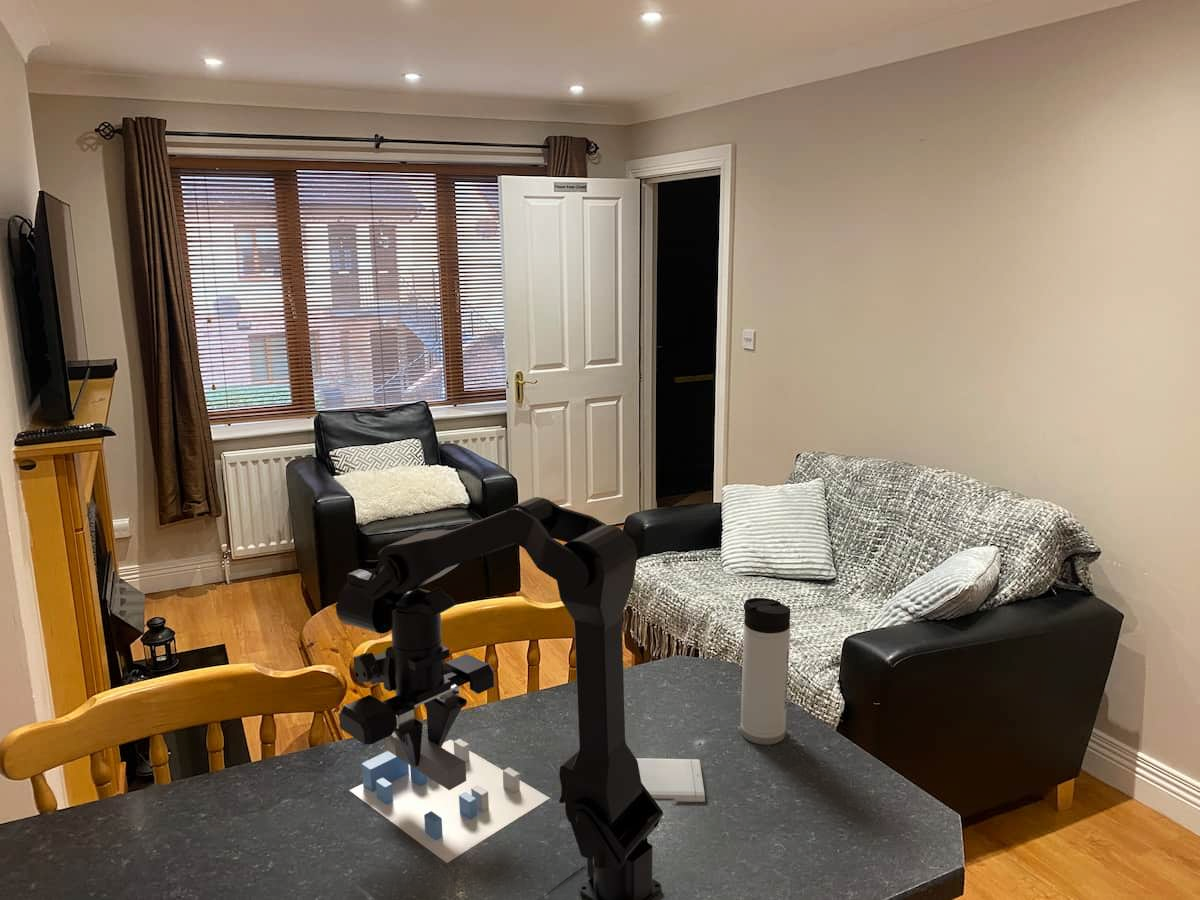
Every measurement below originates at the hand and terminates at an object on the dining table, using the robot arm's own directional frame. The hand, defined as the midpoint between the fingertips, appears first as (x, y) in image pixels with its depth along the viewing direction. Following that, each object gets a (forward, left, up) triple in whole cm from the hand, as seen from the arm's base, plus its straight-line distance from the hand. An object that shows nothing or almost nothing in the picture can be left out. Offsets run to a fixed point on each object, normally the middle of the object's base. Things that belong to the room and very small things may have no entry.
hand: (424, 760), depth 106 cm
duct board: (0, -3, -7) cm, 8 cm away
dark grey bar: (0, 0, -1) cm, 1 cm away
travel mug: (-21, -42, -7) cm, 48 cm away
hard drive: (-17, -23, -8) cm, 30 cm away
